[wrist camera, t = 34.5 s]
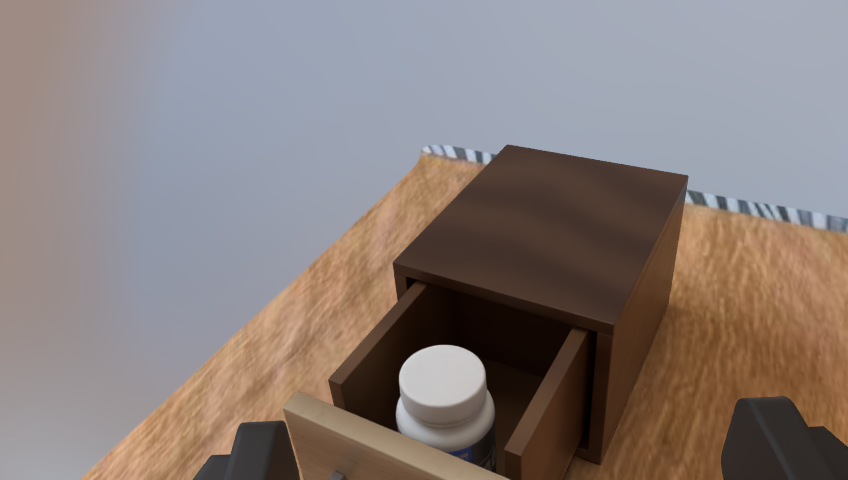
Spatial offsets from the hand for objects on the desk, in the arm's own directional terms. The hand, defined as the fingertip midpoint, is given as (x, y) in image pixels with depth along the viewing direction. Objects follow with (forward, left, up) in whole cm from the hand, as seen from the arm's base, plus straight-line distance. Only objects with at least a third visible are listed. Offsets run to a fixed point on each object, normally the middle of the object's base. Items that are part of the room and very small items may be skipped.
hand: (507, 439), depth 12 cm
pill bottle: (+11, +8, -21) cm, 25 cm away
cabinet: (+25, +9, -23) cm, 35 cm away
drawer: (+11, +9, -22) cm, 26 cm away
